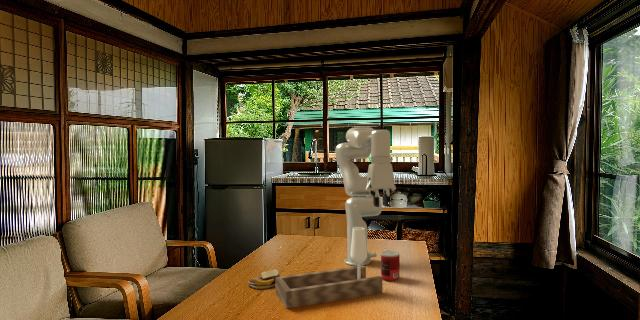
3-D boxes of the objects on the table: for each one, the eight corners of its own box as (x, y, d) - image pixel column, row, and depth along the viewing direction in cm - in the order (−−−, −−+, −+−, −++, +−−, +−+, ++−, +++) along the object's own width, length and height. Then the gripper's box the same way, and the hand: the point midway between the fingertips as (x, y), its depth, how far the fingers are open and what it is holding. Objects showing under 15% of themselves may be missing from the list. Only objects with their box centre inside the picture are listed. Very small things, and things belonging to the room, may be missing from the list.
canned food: (400, 276, 169) (400, 251, 169) (398, 282, 162) (398, 256, 161) (383, 274, 172) (382, 249, 171) (379, 280, 164) (379, 254, 164)
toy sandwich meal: (248, 280, 168) (248, 269, 168) (280, 278, 170) (280, 267, 169) (246, 291, 156) (246, 279, 155) (281, 289, 157) (281, 277, 157)
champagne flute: (356, 292, 152) (356, 230, 151) (347, 287, 158) (346, 227, 157) (371, 289, 155) (370, 228, 154) (361, 284, 161) (361, 225, 160)
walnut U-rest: (363, 279, 166) (363, 265, 165) (382, 293, 151) (382, 277, 150) (275, 292, 153) (275, 277, 152) (286, 308, 138) (286, 291, 137)
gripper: (393, 159, 164) (394, 203, 164) (357, 160, 158) (358, 206, 159) (403, 160, 157) (403, 206, 157) (366, 161, 151) (366, 209, 152)
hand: (380, 205), depth 158 cm, fingers open, 3 cm apart
